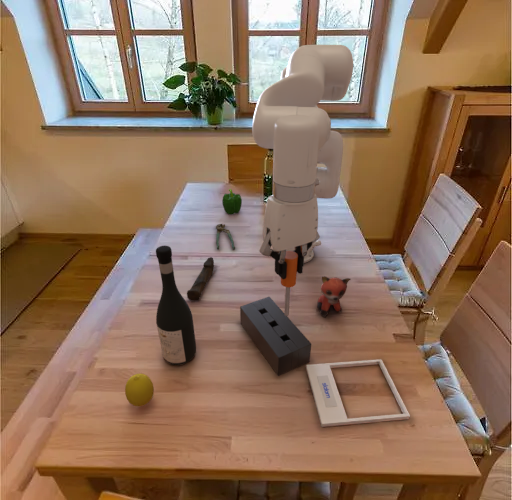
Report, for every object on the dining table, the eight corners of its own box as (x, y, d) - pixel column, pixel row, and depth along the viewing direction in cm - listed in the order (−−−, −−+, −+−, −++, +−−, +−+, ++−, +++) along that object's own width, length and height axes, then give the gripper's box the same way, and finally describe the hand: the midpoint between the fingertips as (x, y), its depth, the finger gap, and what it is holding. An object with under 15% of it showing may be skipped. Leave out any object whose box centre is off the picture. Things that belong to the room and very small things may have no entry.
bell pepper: (241, 216, 151) (241, 194, 146) (222, 216, 151) (221, 194, 146) (242, 208, 158) (241, 187, 153) (224, 208, 158) (222, 187, 153)
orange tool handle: (288, 308, 81) (292, 249, 72) (296, 316, 79) (301, 256, 70) (276, 313, 80) (278, 253, 71) (284, 321, 77) (287, 260, 69)
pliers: (235, 250, 127) (235, 247, 127) (217, 251, 127) (216, 248, 126) (230, 225, 144) (230, 222, 143) (214, 226, 143) (214, 223, 142)
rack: (268, 313, 98) (269, 296, 95) (309, 361, 84) (311, 343, 81) (240, 323, 95) (239, 306, 92) (277, 376, 80) (278, 357, 77)
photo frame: (306, 364, 82) (381, 358, 83) (305, 367, 82) (380, 361, 84) (322, 423, 69) (410, 415, 71) (321, 426, 70) (409, 418, 71)
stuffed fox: (338, 294, 106) (343, 260, 99) (347, 319, 96) (353, 284, 90) (312, 294, 106) (316, 260, 99) (319, 320, 96) (324, 284, 90)
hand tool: (200, 303, 102) (198, 290, 100) (187, 300, 103) (185, 288, 101) (221, 267, 118) (220, 255, 116) (209, 265, 119) (209, 254, 116)
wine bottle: (181, 372, 81) (163, 264, 66) (156, 358, 85) (133, 252, 69) (203, 350, 87) (191, 245, 71) (179, 337, 91) (163, 235, 75)
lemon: (132, 392, 77) (125, 367, 73) (158, 390, 77) (152, 365, 73) (126, 415, 72) (118, 390, 68) (154, 413, 72) (147, 387, 68)
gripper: (318, 175, 69) (310, 254, 79) (243, 190, 63) (245, 274, 73) (343, 188, 64) (332, 271, 73) (263, 206, 57) (262, 295, 67)
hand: (288, 272), depth 73 cm, fingers closed on orange tool handle, 3 cm apart
